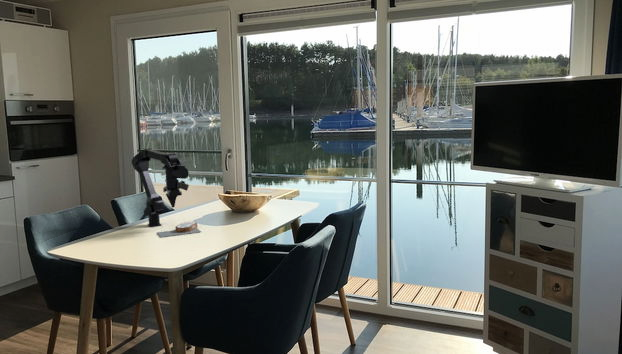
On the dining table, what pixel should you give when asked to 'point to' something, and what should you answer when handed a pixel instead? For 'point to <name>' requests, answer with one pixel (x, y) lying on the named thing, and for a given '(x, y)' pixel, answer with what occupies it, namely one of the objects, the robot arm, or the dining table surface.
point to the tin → (186, 227)
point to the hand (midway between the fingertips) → (173, 207)
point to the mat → (176, 233)
